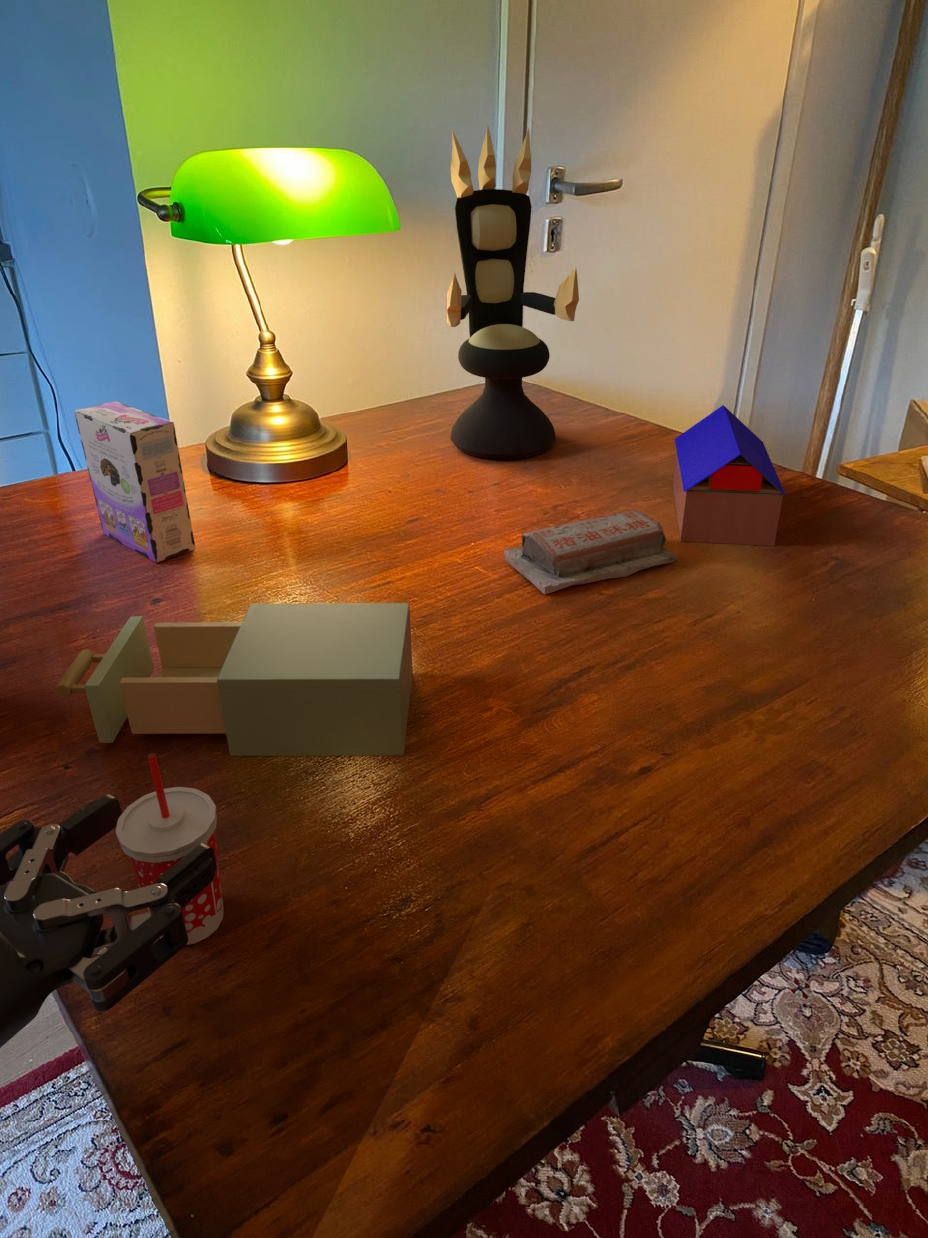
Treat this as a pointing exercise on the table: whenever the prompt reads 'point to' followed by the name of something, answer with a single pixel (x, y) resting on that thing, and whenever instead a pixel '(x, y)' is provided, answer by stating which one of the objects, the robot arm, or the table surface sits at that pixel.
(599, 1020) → the table surface
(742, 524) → the house
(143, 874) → the beverage cup
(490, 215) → the spiked throne chair
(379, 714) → the cabinet
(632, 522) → the packaged product
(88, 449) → the candy box
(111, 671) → the drawer
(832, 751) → the table surface
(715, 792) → the table surface
